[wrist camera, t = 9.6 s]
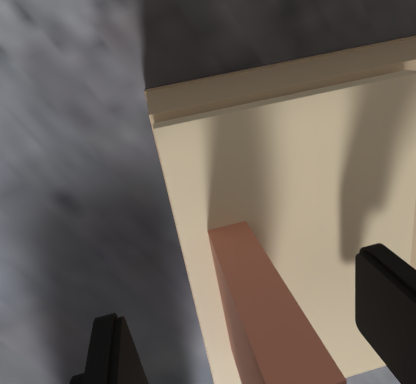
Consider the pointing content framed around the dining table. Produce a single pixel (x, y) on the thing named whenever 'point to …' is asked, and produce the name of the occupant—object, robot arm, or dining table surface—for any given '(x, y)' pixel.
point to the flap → (291, 222)
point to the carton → (280, 87)
